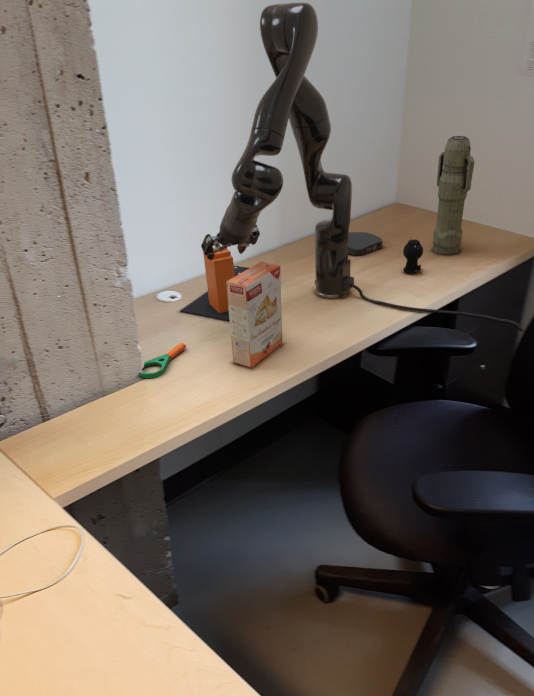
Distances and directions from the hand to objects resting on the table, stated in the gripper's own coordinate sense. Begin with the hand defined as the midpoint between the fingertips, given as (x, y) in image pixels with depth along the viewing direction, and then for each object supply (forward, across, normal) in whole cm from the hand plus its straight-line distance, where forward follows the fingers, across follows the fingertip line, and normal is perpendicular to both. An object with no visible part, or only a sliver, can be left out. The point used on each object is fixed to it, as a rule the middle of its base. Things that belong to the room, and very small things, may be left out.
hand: (224, 253), depth 154 cm
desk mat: (+16, 0, -9) cm, 18 cm away
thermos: (+16, +80, -9) cm, 82 cm away
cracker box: (-5, -3, -29) cm, 30 cm away
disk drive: (+25, +13, 0) cm, 28 cm away
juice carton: (+12, 0, 0) cm, 12 cm away
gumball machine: (+10, +60, -15) cm, 62 cm away
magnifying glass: (+1, -24, -24) cm, 34 cm away
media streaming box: (+30, +58, +5) cm, 66 cm away
